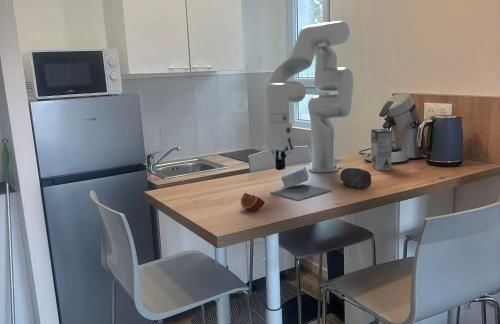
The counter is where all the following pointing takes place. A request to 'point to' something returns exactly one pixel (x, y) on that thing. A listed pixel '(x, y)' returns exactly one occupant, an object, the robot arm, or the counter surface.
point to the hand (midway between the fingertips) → (280, 169)
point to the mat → (300, 192)
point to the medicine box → (295, 177)
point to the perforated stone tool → (356, 178)
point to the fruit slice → (251, 202)
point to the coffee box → (381, 149)
